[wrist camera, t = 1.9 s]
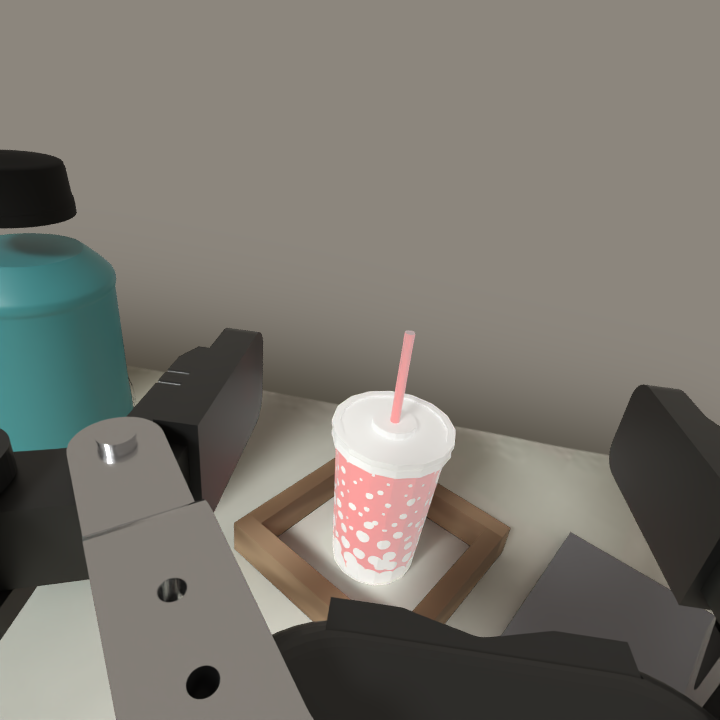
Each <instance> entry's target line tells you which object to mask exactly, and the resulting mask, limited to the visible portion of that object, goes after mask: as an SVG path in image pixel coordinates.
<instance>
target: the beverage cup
mask: <svg viewBox="0 0 720 720" xmlns="http://www.w3.org/2000/svg"><path fill="white" fill-rule="evenodd" d="M414 338H415V332H414V331H410V330H407V331H405V335H404V340H403V347H402V352H401V359H400V364H399V370H398V376H397V382H396V388H395V392H393V391H369V392H366V393H362V394H358V395H354V396H351V397H350V398H348V399H347V400H345V401H344V402H342V403H341V404H340V405H338V407H337V409H336V411H335V413H334V416H333V418H332V427H333V429H332V436H333V441H334V445H335V448H336V457H335V488H334V520H333V552H334V558H335V561H336V563H337V564H338V565H339V567H340V568H341V570H342V571H343V572H344V573H345V574H347V575H348V576H350V577H351V578H353V579H354V580H356V581H358V582H362V583H366V584H370V585H381V584H390V583H392V582H394V581H395V580H397V579H399V578H401V577H403V575H404V574H405V573H406V571H407V570H408V569H409V567H410V566H411V562H412V559H413V556H414V553H415V550H416V547H417V544H418V541H419V538H420V535H421V532H422V528H423V525H424V522H425V519H426V516H427V513H428V510H429V507H430V504H431V501H432V498H433V494H434V491H435V488H436V485H437V482H438V479H439V476H440V473H441V470H442V467H443V466H444V465H445V464H446V462H447V461H448V460H449V459H450V458H451V451H452V450H453V449H454V445H455V433H456V430H455V428H454V426H453V425H452V423H451V421H450V419H449V418H448V416H447V415H446V414H444V413H443V412H442V411H441V410H440V409H438V408H437V407H436V406H434V405H433V404H432V403H429V402H427V401H425V400H422V399H420V398H418V397H415V396H413V395H409V394H405V389H406V383H407V377H408V372H409V366H410V360H411V354H412V349H413V344H414Z"/></svg>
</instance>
